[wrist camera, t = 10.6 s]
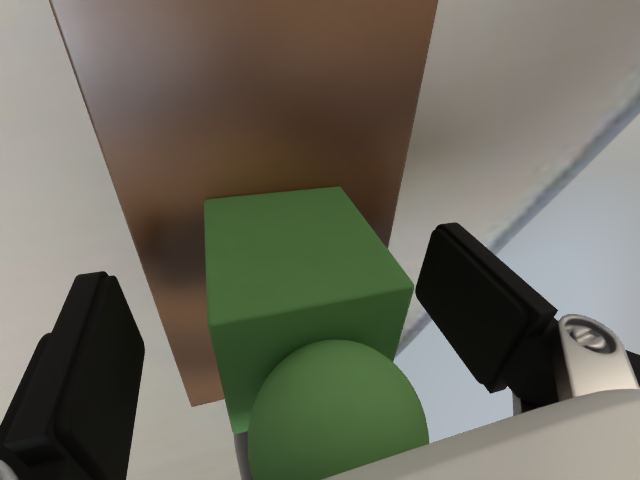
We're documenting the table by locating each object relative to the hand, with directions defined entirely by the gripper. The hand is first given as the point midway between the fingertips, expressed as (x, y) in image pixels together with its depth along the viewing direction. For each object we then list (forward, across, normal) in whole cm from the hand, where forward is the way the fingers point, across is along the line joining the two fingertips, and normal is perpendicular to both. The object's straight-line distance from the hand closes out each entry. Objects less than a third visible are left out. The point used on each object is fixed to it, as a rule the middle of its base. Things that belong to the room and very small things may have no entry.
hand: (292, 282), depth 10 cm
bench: (+8, 0, 0) cm, 8 cm away
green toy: (+2, 0, 0) cm, 2 cm away
